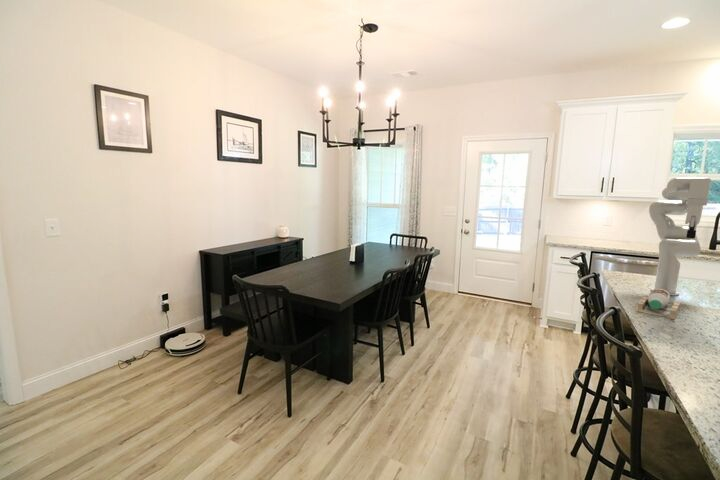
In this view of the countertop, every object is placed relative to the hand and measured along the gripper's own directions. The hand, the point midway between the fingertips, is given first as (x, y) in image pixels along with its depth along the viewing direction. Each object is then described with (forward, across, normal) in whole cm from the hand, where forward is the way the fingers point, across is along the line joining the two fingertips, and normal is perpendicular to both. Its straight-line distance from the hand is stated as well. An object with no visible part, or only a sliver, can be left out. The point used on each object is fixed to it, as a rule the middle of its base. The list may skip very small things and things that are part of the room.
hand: (690, 237), depth 178 cm
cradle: (+35, +23, -6) cm, 42 cm away
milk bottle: (+30, +12, -7) cm, 33 cm away
